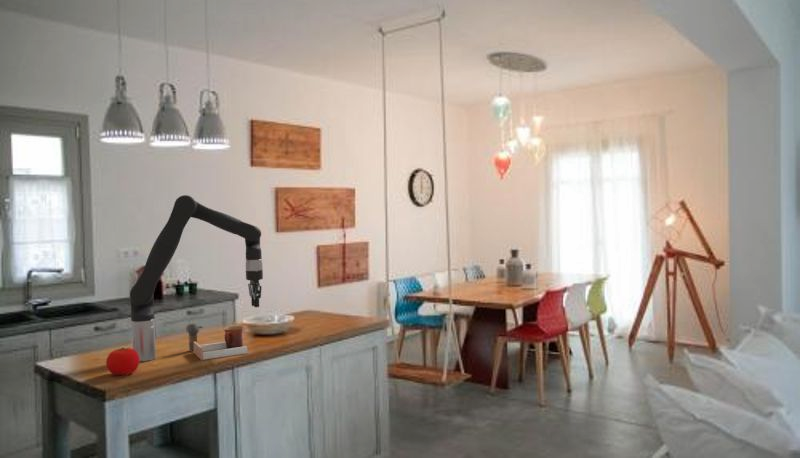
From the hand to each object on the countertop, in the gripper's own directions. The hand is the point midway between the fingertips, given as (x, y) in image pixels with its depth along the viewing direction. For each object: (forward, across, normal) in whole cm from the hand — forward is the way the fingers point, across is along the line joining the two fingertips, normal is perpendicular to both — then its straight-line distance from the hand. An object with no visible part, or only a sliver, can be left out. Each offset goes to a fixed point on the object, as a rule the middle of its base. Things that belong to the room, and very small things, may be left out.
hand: (255, 306), depth 273 cm
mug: (+19, 0, -11) cm, 22 cm away
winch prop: (+19, -12, -25) cm, 34 cm away
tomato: (+19, +12, -57) cm, 61 cm away
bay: (+19, 0, -16) cm, 25 cm away
